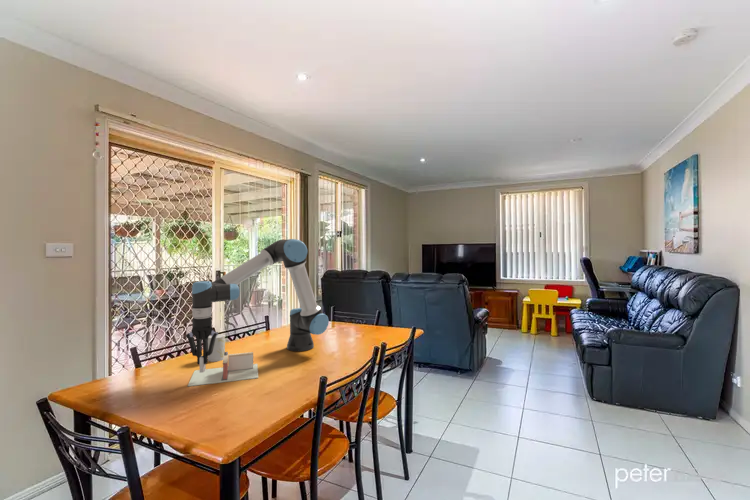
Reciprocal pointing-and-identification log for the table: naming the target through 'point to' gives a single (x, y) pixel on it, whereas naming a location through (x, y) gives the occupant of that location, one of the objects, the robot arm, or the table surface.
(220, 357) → the cup
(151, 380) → the table surface
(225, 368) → the red rectangular panel
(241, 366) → the fence fixed
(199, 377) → the card
